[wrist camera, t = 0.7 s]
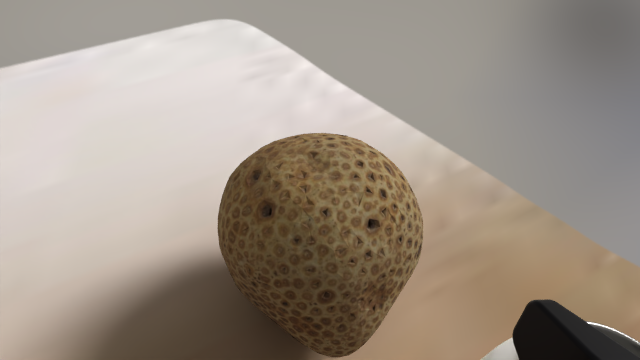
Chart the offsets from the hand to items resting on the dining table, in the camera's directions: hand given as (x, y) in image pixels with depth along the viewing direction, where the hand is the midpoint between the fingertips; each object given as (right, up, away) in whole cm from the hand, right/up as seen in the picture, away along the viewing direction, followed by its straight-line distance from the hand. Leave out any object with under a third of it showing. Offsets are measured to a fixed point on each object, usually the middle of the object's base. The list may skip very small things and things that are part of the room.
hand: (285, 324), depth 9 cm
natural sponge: (-1, -3, +19) cm, 19 cm away
